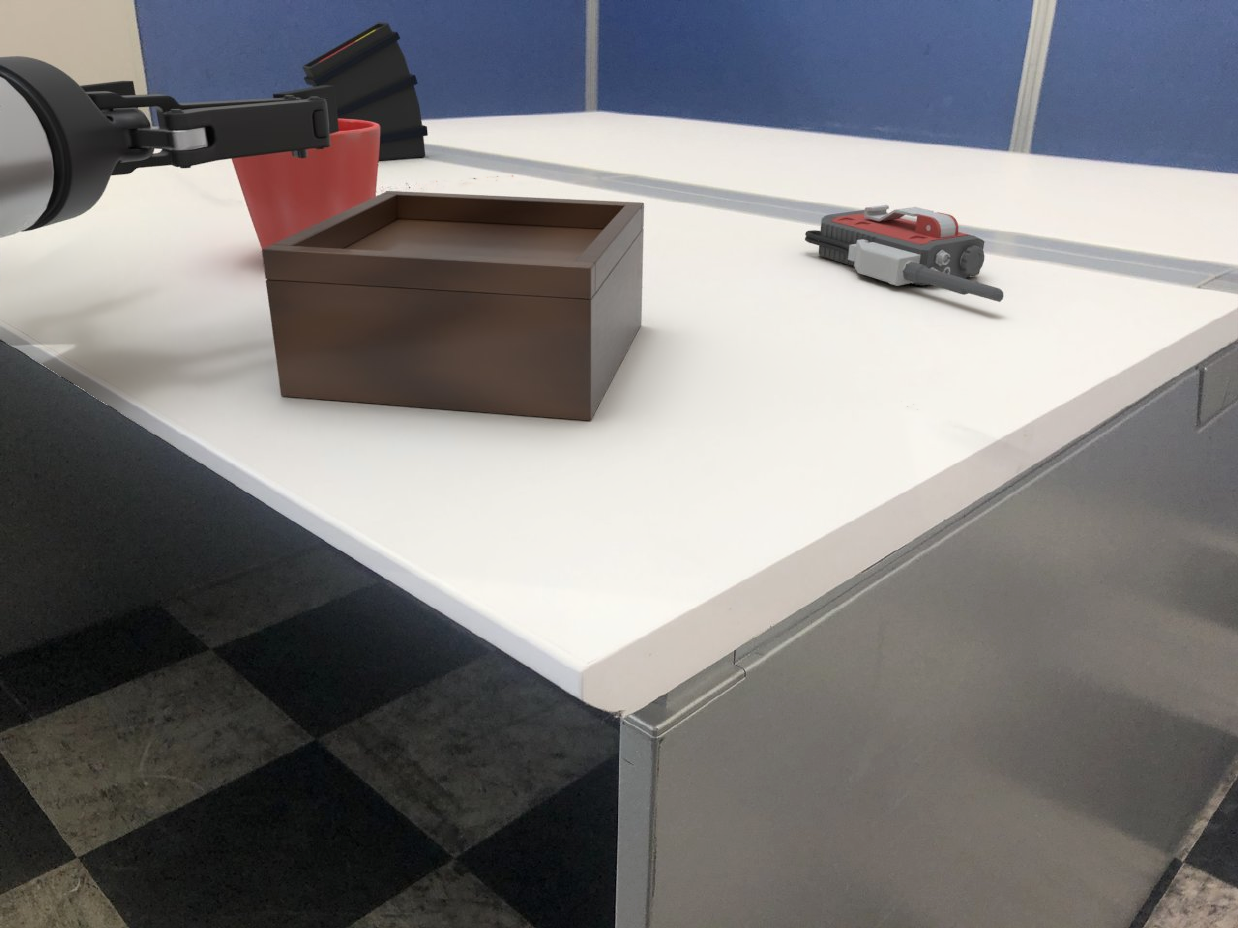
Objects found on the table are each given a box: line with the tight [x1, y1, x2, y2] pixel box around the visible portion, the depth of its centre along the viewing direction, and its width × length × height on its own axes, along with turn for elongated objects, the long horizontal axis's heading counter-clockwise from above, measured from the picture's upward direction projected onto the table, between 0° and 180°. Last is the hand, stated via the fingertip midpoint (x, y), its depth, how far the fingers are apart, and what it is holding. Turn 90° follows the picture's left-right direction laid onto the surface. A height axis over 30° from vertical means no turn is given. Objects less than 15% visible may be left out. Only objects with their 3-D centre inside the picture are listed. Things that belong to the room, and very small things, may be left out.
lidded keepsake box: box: [261, 190, 645, 421], centre depth 56 cm, size 16×16×8 cm
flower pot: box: [231, 119, 380, 250], centre depth 76 cm, size 11×11×10 cm
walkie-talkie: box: [804, 204, 1004, 303], centre depth 74 cm, size 9×4×20 cm
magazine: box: [301, 21, 429, 161], centre depth 121 cm, size 4×13×15 cm, turn 123°
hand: (230, 105), depth 65 cm, fingers open, 13 cm apart
